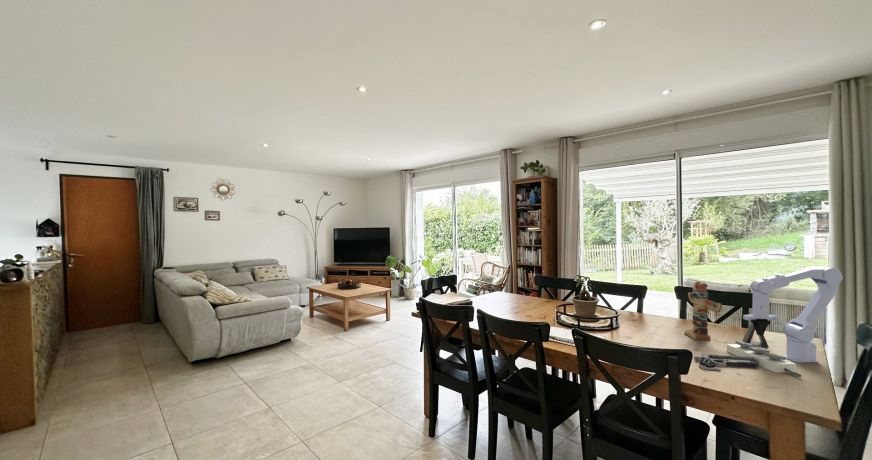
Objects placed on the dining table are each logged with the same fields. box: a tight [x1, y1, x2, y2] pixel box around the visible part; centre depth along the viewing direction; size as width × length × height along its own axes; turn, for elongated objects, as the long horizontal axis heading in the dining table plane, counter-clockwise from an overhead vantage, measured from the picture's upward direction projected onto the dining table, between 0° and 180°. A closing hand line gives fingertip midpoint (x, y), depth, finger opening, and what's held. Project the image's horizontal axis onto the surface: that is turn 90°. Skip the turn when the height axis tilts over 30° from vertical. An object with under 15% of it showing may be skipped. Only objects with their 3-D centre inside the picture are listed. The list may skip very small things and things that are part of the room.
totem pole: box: [684, 280, 723, 342], centre depth 194 cm, size 29×7×30 cm, turn 172°
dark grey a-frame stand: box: [742, 320, 769, 348], centre depth 183 cm, size 9×6×12 cm, turn 59°
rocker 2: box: [748, 346, 771, 353], centre depth 161 cm, size 6×4×1 cm, turn 91°
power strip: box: [726, 343, 802, 378], centre depth 159 cm, size 9×30×4 cm, turn 1°
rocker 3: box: [763, 352, 786, 360], centre depth 154 cm, size 6×4×1 cm, turn 92°
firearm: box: [693, 352, 759, 372], centre depth 157 cm, size 3×24×15 cm
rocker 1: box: [734, 340, 756, 347], centre depth 168 cm, size 6×4×1 cm, turn 92°
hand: (759, 335), depth 165 cm, fingers closed
